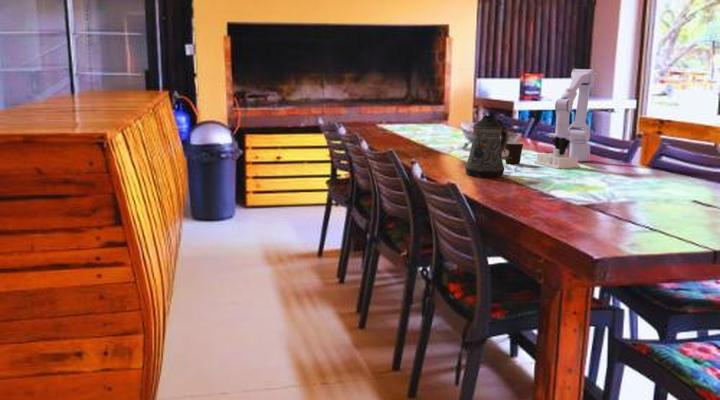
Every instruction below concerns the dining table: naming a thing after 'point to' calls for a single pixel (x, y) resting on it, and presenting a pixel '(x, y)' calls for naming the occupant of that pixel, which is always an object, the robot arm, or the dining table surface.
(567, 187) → the dining table surface
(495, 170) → the beer stein
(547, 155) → the dish rack
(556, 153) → the plate tile
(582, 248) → the dining table surface
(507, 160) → the coffee mug
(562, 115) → the robot arm
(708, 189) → the dining table surface
